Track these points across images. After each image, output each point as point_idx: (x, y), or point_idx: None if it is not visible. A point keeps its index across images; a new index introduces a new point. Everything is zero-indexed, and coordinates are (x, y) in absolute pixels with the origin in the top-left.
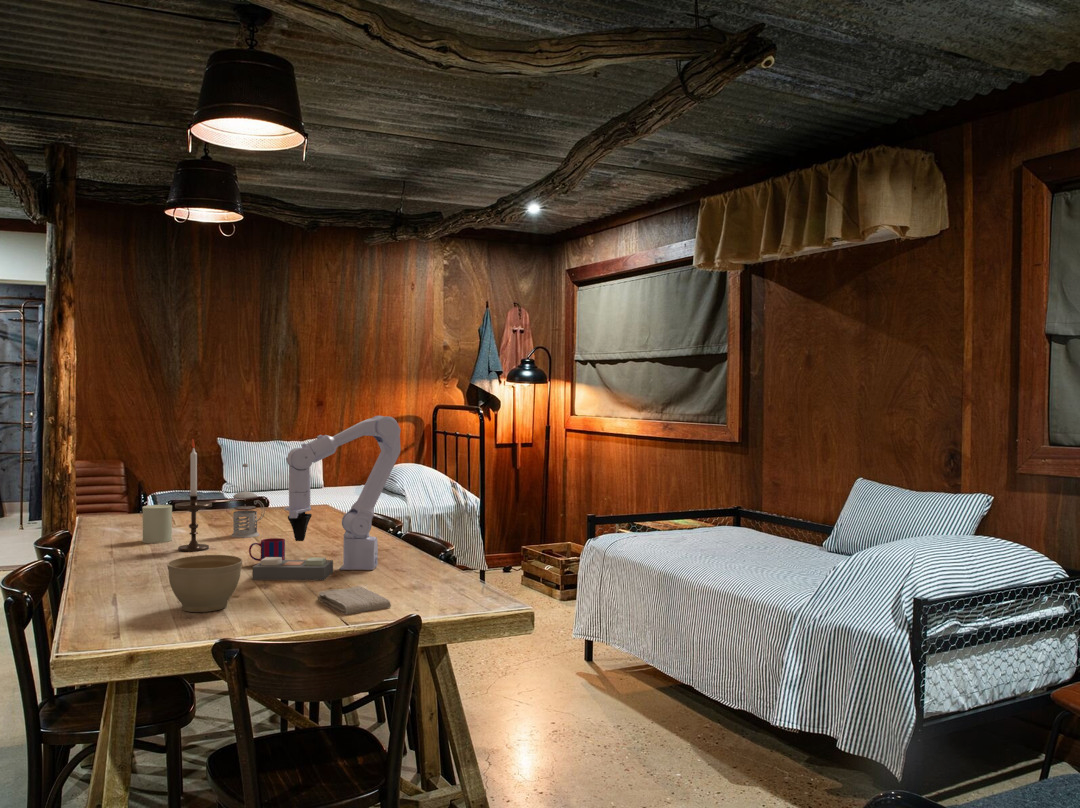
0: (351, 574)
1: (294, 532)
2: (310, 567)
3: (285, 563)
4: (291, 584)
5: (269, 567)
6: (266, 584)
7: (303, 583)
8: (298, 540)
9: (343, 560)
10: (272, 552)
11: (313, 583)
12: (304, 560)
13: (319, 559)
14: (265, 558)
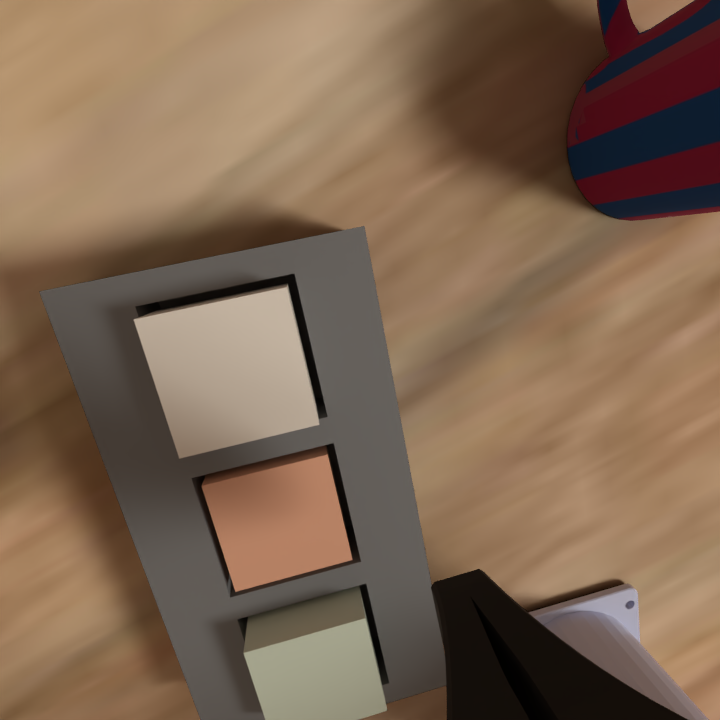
0: (404, 716)
1: (447, 668)
2: (188, 687)
3: (249, 478)
4: (66, 581)
5: (92, 428)
6: (3, 446)
7: (117, 624)
8: (437, 614)
9: (571, 645)
10: (637, 151)
11: (138, 669)
12: (408, 530)
13: (307, 713)
14: (224, 319)
